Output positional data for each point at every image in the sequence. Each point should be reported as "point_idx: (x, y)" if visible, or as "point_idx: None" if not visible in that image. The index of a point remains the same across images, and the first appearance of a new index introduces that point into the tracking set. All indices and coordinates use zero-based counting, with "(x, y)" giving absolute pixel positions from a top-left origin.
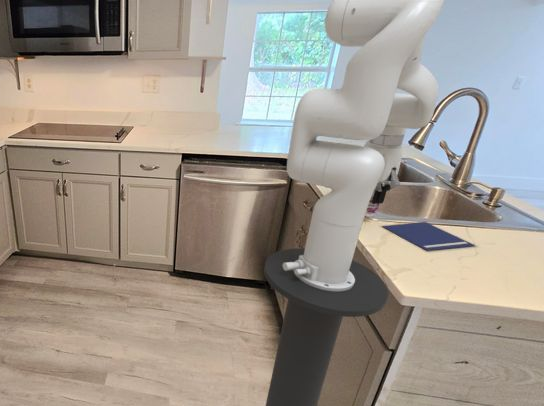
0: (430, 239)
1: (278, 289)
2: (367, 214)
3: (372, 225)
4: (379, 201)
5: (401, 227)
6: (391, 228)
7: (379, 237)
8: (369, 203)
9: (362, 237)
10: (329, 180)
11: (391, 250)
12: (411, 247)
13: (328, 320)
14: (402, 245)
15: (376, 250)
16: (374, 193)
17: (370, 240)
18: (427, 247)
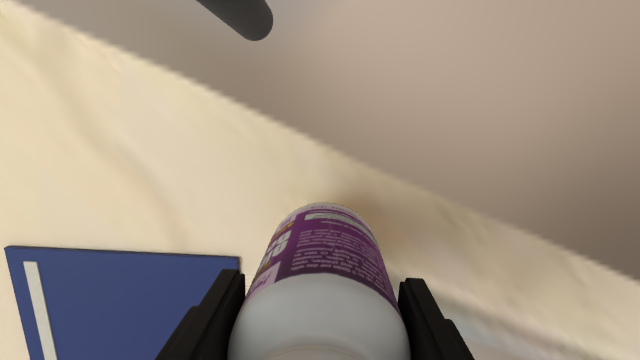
0: (95, 334)
1: None
2: (277, 229)
3: (262, 227)
4: (194, 309)
5: None
6: (206, 275)
7: (140, 157)
8: (263, 261)
9: (146, 72)
10: None
11: (12, 104)
12: (41, 214)
13: None
14: (59, 193)
15: (10, 29)
16: (209, 332)
17: (112, 87)
18: (24, 266)
